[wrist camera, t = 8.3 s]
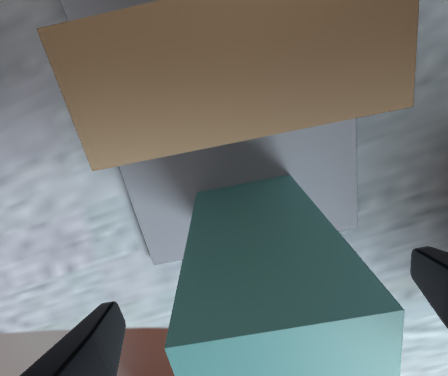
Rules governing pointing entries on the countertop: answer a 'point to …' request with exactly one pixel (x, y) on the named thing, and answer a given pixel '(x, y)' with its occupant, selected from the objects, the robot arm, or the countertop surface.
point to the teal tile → (277, 292)
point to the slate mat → (234, 169)
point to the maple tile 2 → (228, 71)
